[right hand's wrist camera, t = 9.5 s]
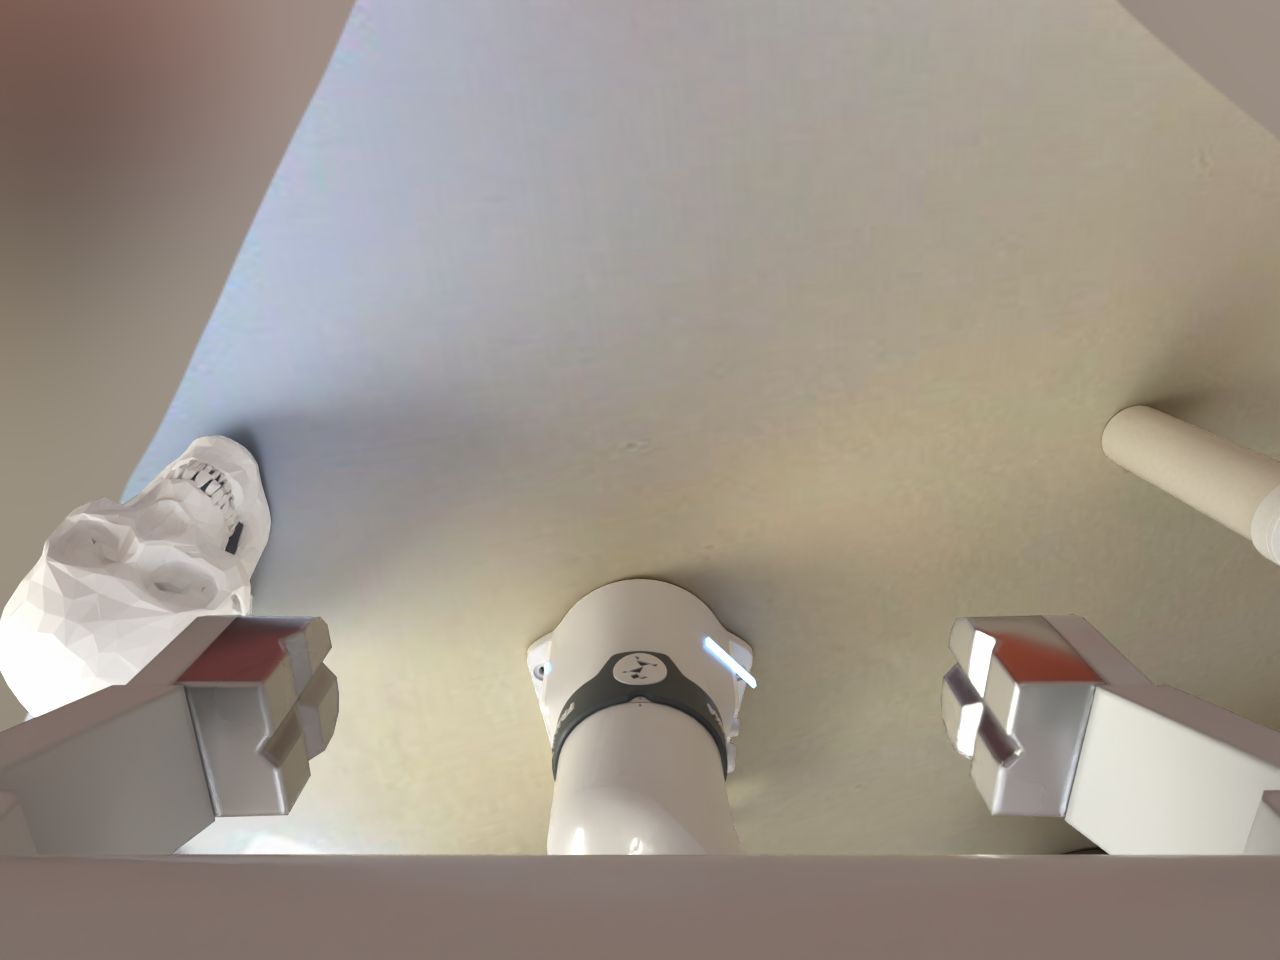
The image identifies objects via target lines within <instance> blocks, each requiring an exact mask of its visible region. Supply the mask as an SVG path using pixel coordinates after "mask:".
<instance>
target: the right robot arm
mask: <svg viewBox="0 0 1280 960" xmlns="http://www.w3.org/2000/svg"><path fill="white" fill-rule="evenodd" d="M331 648H332V645H331V640H330V635H329V630H328V625H327V624H326V622H325V621H324V620H323V619H322V618H321V617H304V616H251V615H246V616H242V615H207V616H200V617H197V618H196V619H195V620H193V621H192V622H191V623H190V624H189V625H188V626H187V627H186V628H185V629H184V630H183V631H182V632H181V633H180V634H179V635H178V636H177V637H176V638H174V639H173V640H172V641H171V642H170V643H169V644H168V645H167V646H166V647H165V648H164V649H163V650H162V651H161V652H160V653H159V654H158V655H157V656H155V657H154V658H153V659H152V660H151V661H150V662H149V663H148V664H147V665H146V666H145V667H144V668H143V669H142V670H141V671H140V672H139V673H138V674H136V675H135V676H134V677H133V678H132V679H131V680H130V681H129V682H128V683H127V684H126V685H111V686H109V687H107V688H104V689H102V690H99V691H97V692H95V693H92V694H90V695H88V696H85V697H83V698H80V699H78V700H76V701H73V702H71V703H69V704H66V705H64V706H61V707H59V708H57V709H54V710H52V711H50V712H47V713H45V714H43V715H40V716H38V717H35V718H33V719H31V720H28V721H26V722H24V723H21V724H19V725H16V726H14V727H12V728H9V729H7V730H5V731H2V732H0V960H1280V732H1278V731H1275V730H1273V729H1270V728H1268V727H1266V726H1263V725H1261V724H1259V723H1256V722H1254V721H1251V720H1249V719H1247V718H1244V717H1242V716H1240V715H1237V714H1235V713H1233V712H1230V711H1228V710H1225V709H1223V708H1221V707H1218V706H1216V705H1214V704H1211V703H1209V702H1207V701H1204V700H1202V699H1199V698H1197V697H1195V696H1192V695H1190V694H1188V693H1185V692H1183V691H1181V690H1178V689H1176V688H1173V687H1171V686H1169V685H1154V684H1153V683H1152V682H1151V681H1150V680H1149V679H1148V678H1147V677H1146V676H1145V675H1144V674H1143V673H1141V672H1140V671H1139V670H1138V669H1137V668H1136V667H1135V666H1134V665H1133V664H1132V663H1131V662H1130V661H1129V660H1128V659H1127V658H1126V657H1125V656H1124V655H1123V654H1121V653H1120V652H1119V651H1118V650H1117V649H1116V648H1115V647H1114V646H1113V645H1112V644H1111V643H1110V642H1109V641H1108V640H1107V639H1106V638H1105V637H1104V636H1103V635H1102V634H1100V633H1099V632H1098V631H1097V630H1096V629H1095V628H1094V627H1093V626H1092V625H1091V624H1090V623H1089V622H1088V621H1087V620H1086V619H1085V618H1083V617H1080V616H1077V615H1074V614H1072V615H1048V616H1000V617H964V618H957V619H956V620H955V622H954V625H953V627H952V629H951V633H950V639H949V645H948V648H949V649H950V651H951V652H952V654H953V655H954V657H955V658H956V660H957V661H958V662H957V663H956V664H955V665H954V666H953V667H952V669H951V670H950V671H949V672H948V673H947V674H946V675H945V676H944V677H943V685H942V693H941V707H942V718H943V723H944V726H945V729H946V733H947V736H948V738H949V740H950V742H951V743H952V745H953V747H954V749H955V750H956V751H957V752H959V753H960V754H962V755H963V756H965V757H967V758H968V759H970V760H971V761H972V762H971V768H970V774H969V776H970V777H971V779H972V781H973V783H974V784H975V786H976V788H977V790H978V791H979V793H980V795H981V797H982V798H983V800H984V802H985V804H986V805H987V807H988V809H989V810H990V812H991V814H992V815H1005V816H1042V817H1065V821H1066V822H1068V823H1069V824H1070V825H1071V826H1073V827H1074V828H1075V829H1077V830H1078V831H1079V832H1081V833H1082V834H1083V835H1085V836H1086V837H1087V838H1088V839H1090V840H1091V841H1092V842H1094V843H1095V844H1096V845H1098V846H1099V847H1100V848H1102V849H1103V850H1104V851H1106V852H1107V853H1108V854H1109V855H748V854H747V852H746V851H745V849H744V847H743V845H742V844H741V842H740V840H739V837H738V835H737V832H736V828H735V825H734V821H733V817H732V814H731V810H730V806H729V801H728V796H727V791H726V786H725V780H726V776H727V773H731V772H733V771H734V768H735V763H736V746H735V744H733V743H730V740H731V737H737V736H738V734H739V728H740V722H739V719H737V716H738V713H739V709H740V706H741V702H742V699H743V695H744V692H745V688H746V685H747V683H748V684H749V685H750V686H752V687H753V688H754V687H756V682H755V679H754V678H753V677H752V676H751V675H750V671H751V668H752V664H753V651H752V648H751V647H750V646H749V645H748V644H747V643H746V642H745V641H743V640H742V639H740V638H739V637H737V636H735V635H734V634H732V633H730V632H728V631H727V630H726V629H725V628H724V627H723V626H722V625H721V624H720V623H719V621H718V620H717V618H716V617H715V615H714V614H713V613H712V611H711V610H710V609H709V608H708V607H707V606H706V605H705V604H704V603H703V602H702V601H701V600H700V599H698V598H697V597H696V596H694V595H693V594H691V593H690V592H688V591H686V590H684V589H682V588H680V587H678V586H675V585H673V584H670V583H666V582H662V581H657V580H650V579H630V580H623V581H618V582H614V583H610V584H607V585H605V586H602V587H600V588H598V589H596V590H594V591H592V592H590V593H589V594H587V595H586V596H584V597H583V598H582V599H580V600H579V601H578V602H577V603H576V604H575V605H574V606H573V607H572V608H571V609H570V610H569V612H568V613H567V614H566V616H565V617H564V618H563V620H562V621H561V623H560V624H559V625H558V626H557V627H556V628H555V629H554V630H553V631H552V632H550V633H548V634H547V635H545V636H543V637H541V638H540V639H538V640H537V641H535V642H534V643H533V644H532V645H531V646H530V647H529V649H528V651H527V664H528V667H529V671H530V674H531V678H532V681H533V685H534V688H535V692H536V695H537V699H538V702H539V706H540V709H541V712H542V716H543V719H544V723H545V726H546V730H547V733H548V737H549V740H550V744H551V747H552V754H553V759H552V769H553V776H554V780H555V788H554V795H553V802H552V810H551V817H550V824H549V831H548V838H547V852H548V855H171V854H172V853H173V852H175V851H176V850H177V849H179V848H180V847H181V846H183V845H184V844H185V843H187V842H188V841H189V840H190V839H192V838H193V837H194V836H196V835H197V834H198V833H200V832H201V831H202V830H204V829H205V828H206V827H208V826H209V825H210V824H211V823H213V822H214V821H215V817H237V816H273V815H288V814H289V812H290V811H291V809H292V807H293V805H294V804H295V802H296V800H297V798H298V797H299V795H300V793H301V791H302V790H303V788H304V786H305V784H306V783H307V781H308V779H309V777H310V776H311V774H310V768H309V762H308V761H309V760H310V759H312V758H313V757H315V756H317V755H318V754H320V753H321V752H323V751H324V750H325V749H326V747H327V745H328V743H329V741H330V740H331V738H332V736H333V734H334V729H335V725H336V721H337V717H338V713H339V691H338V684H337V677H336V676H335V675H334V674H333V673H332V672H331V671H330V670H329V669H328V668H327V666H326V665H325V664H324V663H323V660H324V658H325V657H326V655H327V654H328V652H329V651H330V649H331ZM541 667H544V670H542V669H541Z"/></svg>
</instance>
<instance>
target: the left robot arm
mask: <svg viewBox="0 0 1280 960" xmlns="http://www.w3.org/2000/svg"><path fill="white" fill-rule="evenodd" d="M1065 855H1109V854H1108V853H1107V852H1106V851H1104V850H1103V849H1093V850H1083V851H1077V852H1073V853H1069V854H1065Z"/></svg>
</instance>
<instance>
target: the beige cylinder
mask: <svg viewBox="0 0 1280 960" xmlns="http://www.w3.org/2000/svg"><path fill="white" fill-rule="evenodd" d="M1102 448H1103V451H1104V453H1105V455H1106V456H1107V458H1108V459H1109V460H1111V461H1112V462H1114V463H1115V464H1117V465H1119V466H1121V467H1122V468H1124V469H1126V470H1128V471H1129V472H1131V473H1133V474H1135V475H1136V476H1138V477H1140V478H1142V479H1143V480H1145V481H1147V482H1149V483H1150V484H1152V485H1154V486H1156V487H1157V488H1159V489H1161V490H1163V491H1164V492H1166V493H1168V494H1170V495H1171V496H1173V497H1175V498H1177V499H1178V500H1180V501H1182V502H1183V503H1185V504H1187V505H1189V506H1190V507H1192V508H1194V509H1196V510H1197V511H1199V512H1201V513H1203V514H1204V515H1206V516H1208V517H1210V518H1211V519H1213V520H1215V521H1217V522H1218V523H1220V524H1222V525H1224V526H1225V527H1227V528H1229V529H1231V530H1232V531H1234V532H1236V533H1238V534H1239V535H1241V536H1243V537H1245V538H1246V539H1248V540H1250V541H1252V537H1251V523H1252V519H1253V516H1254V513H1255V511H1256V509H1257V507H1258V506H1259V504H1260V503H1261V501H1262V500H1263V499H1264V498H1265V497H1266V495H1267V494H1268V493H1269V492H1271V491H1272V490H1273V489H1274V488H1275V487H1277V486H1278V485H1280V462H1279V461H1277V460H1275V459H1272V458H1270V457H1268V456H1265V455H1263V454H1261V453H1258V452H1256V451H1253V450H1251V449H1249V448H1246V447H1244V446H1242V445H1239V444H1237V443H1235V442H1232V441H1230V440H1228V439H1225V438H1223V437H1220V436H1218V435H1216V434H1213V433H1211V432H1209V431H1206V430H1204V429H1202V428H1199V427H1197V426H1194V425H1192V424H1190V423H1187V422H1185V421H1183V420H1180V419H1178V418H1176V417H1173V416H1171V415H1168V414H1166V413H1164V412H1161V411H1159V410H1157V409H1154V408H1152V407H1149V406H1143V405H1140V406H1132V407H1129V408H1126V409H1124V410H1122V411H1120V412H1119V413H1117V414H1116V415H1115V416H1114V417H1113V418H1112V419H1111V420H1110V421H1109V422H1108V424H1107V425H1106V427H1105V429H1104V432H1103V435H1102ZM1252 542H1253V541H1252Z"/></svg>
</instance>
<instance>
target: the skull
mask: <svg viewBox="0 0 1280 960" xmlns="http://www.w3.org/2000/svg"><path fill="white" fill-rule="evenodd" d="M204 467H206V468H205V469H204ZM203 469H204V470H203ZM211 470H213V471H214V473H213V474H212V475H211V474H209V472H210V471H211ZM197 471H199V473H198V475H197V476H196V479H195V481H193V480H191V479H192V477H193V476H194V475H195V474H196V472H197ZM218 475H220V476H221V477H220V479H219V481H218V482H217V481H216V480H215V479H216V478H217V476H218ZM209 480H213V481H212V482H211V483H210V484H209V485H208V487H207V488H206V491H205V493H204V492H203V491H202V490H201V489H200V488H201V487H202V486H203V485H204V484H206V483H207V482H208V481H209ZM222 481H223V482H224V485H223V487H222V488H221V489H219V490H218V491H217V492H215V491H216V490H217V489H218V488H219V487H220V486H221V485H220V484H219V483H221V482H222ZM214 492H215V493H214ZM213 493H214V494H213ZM226 493H228V494H226ZM212 494H213V495H212ZM208 495H212V496H211V497H209V496H208ZM217 501H218V502H217ZM216 502H217V503H216ZM222 505H223V506H222ZM221 506H222V508H220V507H221ZM232 507H233V508H232ZM239 521H240V522H241V523H242V524H243V528H242V531H241V534H240V537H239V542H238V547H237V551H236V553H235V554H234V555H233V554H231V553H228V552H226V551H225V549H226V546H227V544H228V541H229V537H230V536H232V535H233V533H234V531H235V527H236V525H237V524H238V522H239ZM270 527H271V518H270V511H269V507H268V503H267V500H266V497H265V494H264V491H263V487H262V484H261V479H260V474H259V469H258V464H257V462H256V461H255V459H254V458H253V456H252V454H251V453H250V452H249V451H248V450H247V449H246V448H245V447H244V446H242V445H240V444H239V443H237V442H235V441H233V440H232V439H230V438H227V437H224V436H215V435H213V436H205V437H199V438H197V439H196V440H195V441H193V442H192V443H191V445H190V446H189V448H188V449H187V451H185V452H184V453H183V454H182V455H181V456H180V457H179V458H178V459H177V460H175V461H174V462H172V463H171V464H169V465H168V466H167V467H166V468H165V469H164V470H163V471H162V472H161V473H160V474H159V475H158V476H157V477H156V478H155V479H153V480H152V481H151V482H150V483H149V484H148V485H147V486H146V487H145V488H144V489H143V491H142V492H141V493H140V494H138V495H137V496H135V497H134V498H132V499H131V500H129V501H128V502H127V503H125V504H124V505H122V504H118V503H115V502H113V501H111V500H108V499H106V498H103V497H102V498H99V499H96V500H93V501H91V502H89V503H87V504H84V505H82V506H80V507H78V508H76V509H75V510H73V511H72V512H70V514H69V515H68V516H67V517H66V518H65V519H64V520H63V521H62V523H61V524H60V525H59V526H58V527H57V528H56V529H55V530H54V531H53V533H52V534H51V535H50V536H49V537H48V538H47V540H46V541H45V545H44V550H43V554H42V556H41V558H40V559H39V561H38V562H37V564H36V565H35V566H34V568H33V569H32V570H31V571H30V572H29V573H28V574H27V576H26V577H25V578H24V579H23V580H22V582H21V583H20V585H19V586H18V588H17V589H16V591H15V592H14V594H13V595H12V597H11V598H10V600H9V601H8V603H7V604H6V606H5V608H4V611H3V614H2V617H1V620H0V670H1V672H2V674H3V676H4V678H5V680H6V682H7V684H8V686H9V687H10V688H11V690H12V691H13V692H14V694H15V695H16V697H17V698H18V700H19V701H20V702H21V703H22V704H23V706H24V707H25V708H26V709H27V710H28V711H29V712H30V713H31V714H32V715H33V716H35V717H38V716H40V715H43V714H45V713H47V712H50V711H52V710H54V709H57V708H59V707H61V706H64V705H66V704H69V703H71V702H73V701H76V700H78V699H80V698H83V697H85V696H88V695H90V694H92V693H95V692H97V691H99V690H102V689H104V688H107V687H109V686H111V685H126V684H127V683H128V682H129V681H130V680H131V679H132V678H133V677H134V676H135V675H136V674H138V673H139V672H140V671H141V670H142V669H143V668H144V667H145V666H146V665H147V664H148V663H149V662H150V661H151V660H152V659H153V658H154V657H155V656H157V655H158V654H159V653H160V652H161V651H162V650H163V649H164V648H165V647H166V646H167V645H168V644H169V643H170V642H171V641H172V640H173V639H174V638H176V637H177V636H178V635H179V634H180V633H181V632H182V631H183V630H184V629H185V628H186V627H187V626H188V625H189V624H190V623H191V622H192V621H193V620H195V619H196V618H197V617H200V616H207V615H242V616H246V615H251V612H252V602H253V596H252V595H251V594H250V592H251V585H250V581H249V580H250V578H251V576H252V574H253V572H254V570H255V567H256V565H257V563H258V561H259V559H260V557H261V555H262V553H263V550H264V548H265V546H266V544H267V542H268V538H269V533H270Z"/></svg>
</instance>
